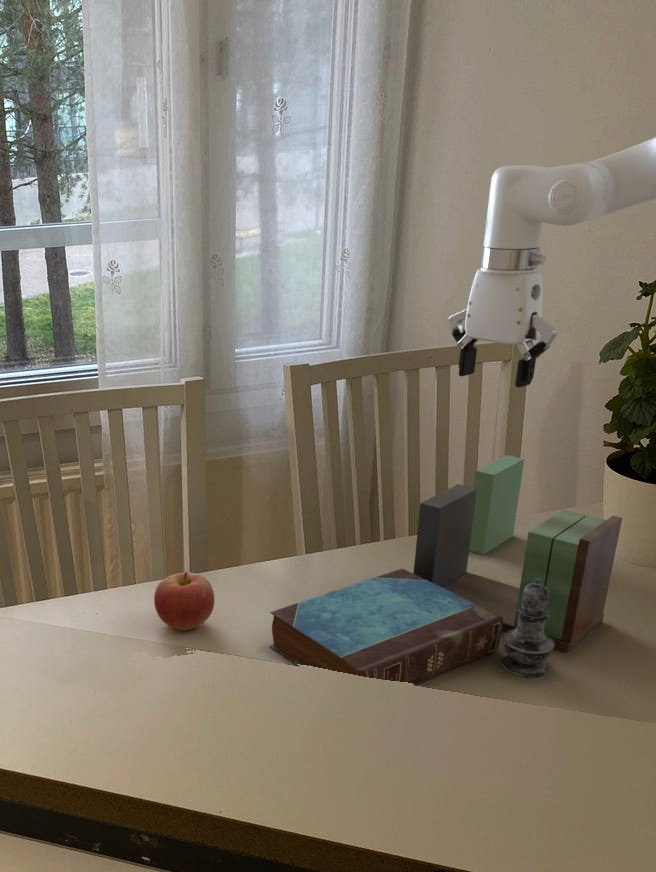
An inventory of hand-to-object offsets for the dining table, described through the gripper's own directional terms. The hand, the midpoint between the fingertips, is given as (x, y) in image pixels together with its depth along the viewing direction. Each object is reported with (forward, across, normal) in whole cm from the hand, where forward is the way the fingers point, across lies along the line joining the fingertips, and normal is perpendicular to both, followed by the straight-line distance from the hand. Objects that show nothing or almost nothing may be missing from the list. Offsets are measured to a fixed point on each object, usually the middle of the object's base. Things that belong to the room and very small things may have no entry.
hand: (493, 380), depth 137 cm
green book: (+25, -4, +1) cm, 25 cm away
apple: (+25, +8, +55) cm, 61 cm away
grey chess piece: (+25, -28, +30) cm, 49 cm away
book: (+25, -14, +40) cm, 49 cm away
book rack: (+25, -17, +20) cm, 36 cm away
